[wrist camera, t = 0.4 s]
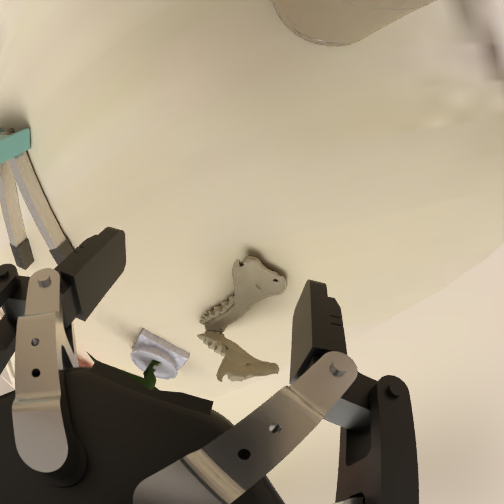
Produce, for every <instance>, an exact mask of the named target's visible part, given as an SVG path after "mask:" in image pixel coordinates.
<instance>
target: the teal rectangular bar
mask: <svg viewBox="0 0 504 504" xmlns="http://www.w3.org/2000/svg"><path fill="white" fill-rule="evenodd" d="M0 133H1V128H0ZM29 149H30V129H29V128H25V129H23V130H20V131H18V132H16V133H13V134H11V135H0V164H2V163H4V162H5V161H7V160H9V159H11V158H13V157H15V156H17V155H19V154H21V153H22V152H24V151H26V150H29Z"/></svg>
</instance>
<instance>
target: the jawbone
mask: <svg viewBox="0 0 504 504" xmlns="http://www.w3.org/2000/svg"><path fill="white" fill-rule="evenodd" d="M239 261H240V260H236V261H235V263H234V266H233V283H234V296H230V297H229V300H228V301H222V304H221V305H219V306H214V310H209V311H208V313H209V315H203V317H204V318H201V320H200V321H199V322H200V323H201V324H206V325H205V330H207V331H205V333H204V334H203V333H202V334H199V335H197V337H199V339H201V340H203V343H205V344H206V345H208V348H211V349H213V350H214V352H216V353H219V354H221V356H225V358H224V359H223V360H222V363H221V365H220V367H219V369H218V372H217V375H216V376H217V379H218V380H219V381H222V378H223V376H224V375H226V374H227V375H228V379H229V380H231V381H243V380H244V379H248V378H251V377H255V376H267V375H270V374H275V373H276V374H278V371H279V367H278V365H277V364H276V363H269V362H263V361H260V360H258V359H256V358H254V357H252V356H251V355H250V354H248V353H247V352H246V351H245V350H243V349H242V348H241V347H239V346H238V345H237V344H236V343H234V342H232V341H231V340H229V339H227V338H225V337H224V334H223V333H222V332H224V331H225V328H226V327H227V326H228V325H229V324H231V323H233V322H234V321H236V320H238V319H239V318H240V317H242V316H243V315H244V314H245V313H246V312H247V311H248V310H249V309H250V308H251V307H252V306H254V305H255V304H256V303H257V302H258V301H260V300H262V299H264V298H266V297H269V296H273V295H279V294H282V293H283V292H284V291H285V289H286V287H287V281H286V280H285V278H284V276H280V275H279V274H277V273H276V272H275V271H271V270H269V269H268V268H266V267H265V266H264V265H263V264H262V263H261V261H260V260H259V259H258V258H256V257H252V256H247V257H245V259H244V261H243V264H244V265H243V266H240V264H239ZM274 279H277V280H278V281H277V282H275V281H273V280H274Z"/></svg>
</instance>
